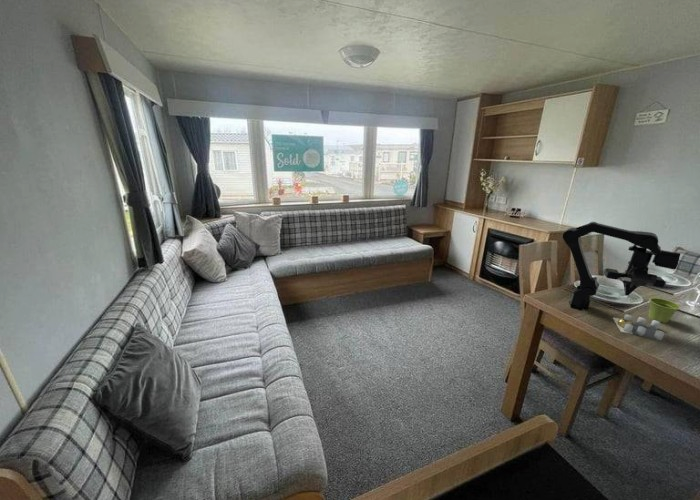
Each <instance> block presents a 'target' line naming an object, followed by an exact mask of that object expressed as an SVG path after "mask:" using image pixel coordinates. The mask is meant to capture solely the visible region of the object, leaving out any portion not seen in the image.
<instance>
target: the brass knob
mask: <svg viewBox="0 0 700 500" xmlns="http://www.w3.org/2000/svg"><path fill="white" fill-rule="evenodd" d="M618 319H619V321H618V323H617V324H618V325H619V326H621V327H623V328H624V327H625V325H626V323H628V324H631V323H632V322H633V321H632V320H631V321H632V322H631V321H630V320H628V319H625V318H624V317H619V318H618ZM617 324H616V325H617Z"/></svg>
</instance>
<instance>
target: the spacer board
mask: <svg viewBox="0 0 700 500" xmlns="http://www.w3.org/2000/svg"><path fill="white" fill-rule="evenodd" d="M623 318H625V319H628V320H630V321H631V322H632V323H631V324H628V323H626V325H625V327H624V328H623V327H621V326H619V325H618V324H617V323H618V321H619V318H618V317H612V319H613V321H614V322H615V324H616V326H617V328H618V329H619V331H620V332H622V333H626V334H630V335H635V336H639V337H643V338H644V337H645V338H648V339H652V340H657V341H661V342H665V343H666V340H665V339H664V337H665V334H666V333H665V332H664V331H662V330H659V327H660V325H661V322H658V321H656V320H653V319H652V321H651V322H650V324H649V325H648V324H646V321H647V319H646V318H644V317H640V316H639V317H638V318H637V320H636V322H635V321H632V319H633V316H632V315H630V314H628V313H627V314H624V317H623Z"/></svg>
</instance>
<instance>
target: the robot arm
mask: <svg viewBox="0 0 700 500" xmlns="http://www.w3.org/2000/svg"><path fill="white" fill-rule="evenodd" d="M590 233H596V234H601V235H604V236H608V237H612V238H615V239H619V240H623V241H627V242H629V243H631V244H633V245H632V246H629V247H628V248H627V249H628V251H631V252H632V254H631V257H630V261H628V262H627V264H628V265H627V268H626V269H624V272H623V273H622V272H619V271H618V269H616V268H615V269H614V268H608V267H607V268H605V269H604V270H603V275H604V276H605V277H606V279H609V280H610V279H612V280H620V281H621V283H622V284H623V290H624V295H625V296H629V295H630V294H632V292H634V291H636V289H637V288H640V287H646V286H647V285H648V284H651V285H653V286H654V287H657V288H661V289H663V288H664V289H665V288H666V287H665V286H666V284H667V282H666V280H664V279H663V278H662V276H657V274H652V273H649V265H650V262H652V263H653V265H654V266H655V267H659V268H664V269H669V270H674V271H675V270H676V269H677V267H678V265H679V261H680V257H681V252H678V251H668V250H663V249H661V246H660V245H659V238H658V236H657V235H656V233H654V232H650V231H641V230H640V231H639V230H637V231H635V230H628V229H624V228H619V227H615V226H612V225H607V224H603V223H599V222H596V221H590V222H589V223H586V224H584V225H581V226H578V227H570V228H567V229H566V230H565V231H564V232H563V234H562V239H563V241H564V242H565V244H566V246H567V247H568V248H569V249H570V251H571V254H572V258H573V261H574V264H575V267H576V271H577V273H578V275H579V285H577V286H575V289H574V291H573V292H572V294H571V298H570V300H569V301H568V304H569V306H570V308H571V309H572V308H573V309H576V310H585V311H587V310H588V309H589V306H590V304H591V297H594V296H595V295H596V294H597V292H598V290H599V287H600V283H599V282H598V277H597V276H592V274H591V272H590V269H589V266H588V263H587V260H586V257H585V254H584V252H583V248H582V239H581V238H582V237H584V236H586V235H588V234H590ZM652 257H653V258H652Z"/></svg>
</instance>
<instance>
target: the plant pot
mask: <svg viewBox="0 0 700 500" xmlns="http://www.w3.org/2000/svg"><path fill="white" fill-rule="evenodd" d="M649 304H650V305H649V306H650V307H649V311H648V318H649V319H651V320H652V321H653V320H656V321H658V322H660V323H664V324H666V323H668V322H669V321H670V319H671V318H672V317H673V316H674V314H675V313H676V312H678V310H680V309H681V306H680V305H679V304H677V303H676V302H673V301H671V300H667V299H663V298H659V297H658V298H657V297H651V298H649Z"/></svg>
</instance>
